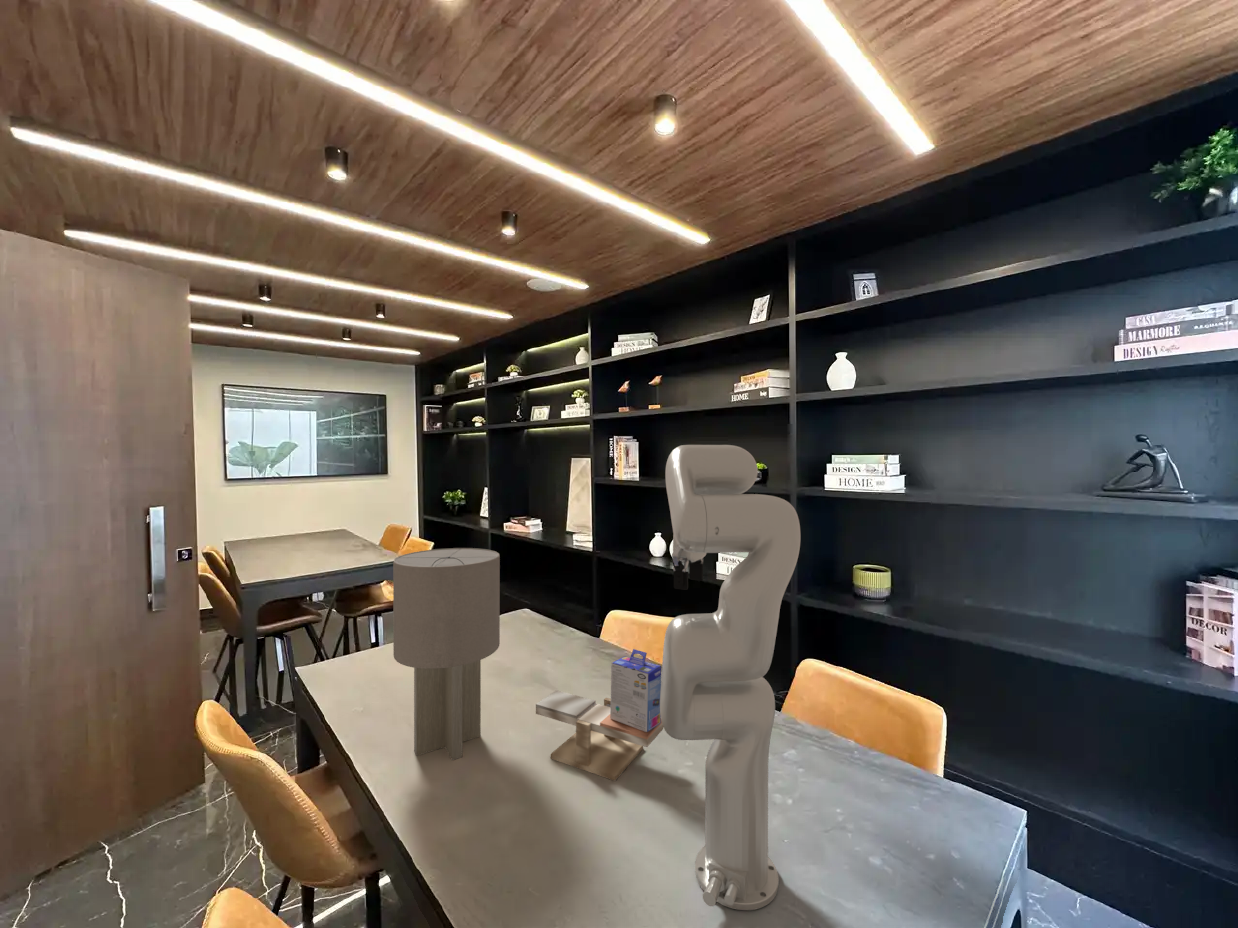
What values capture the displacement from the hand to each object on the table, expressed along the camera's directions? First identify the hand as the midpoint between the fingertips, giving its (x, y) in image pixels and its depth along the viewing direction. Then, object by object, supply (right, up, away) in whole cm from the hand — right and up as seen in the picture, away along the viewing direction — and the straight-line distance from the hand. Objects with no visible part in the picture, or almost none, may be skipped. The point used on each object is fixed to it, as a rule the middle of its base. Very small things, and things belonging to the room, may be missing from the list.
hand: (688, 584), depth 116 cm
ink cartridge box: (-12, -27, -9) cm, 31 cm away
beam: (-21, -28, -4) cm, 35 cm away
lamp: (-55, -37, 0) cm, 66 cm away
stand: (-21, -36, -4) cm, 42 cm away
